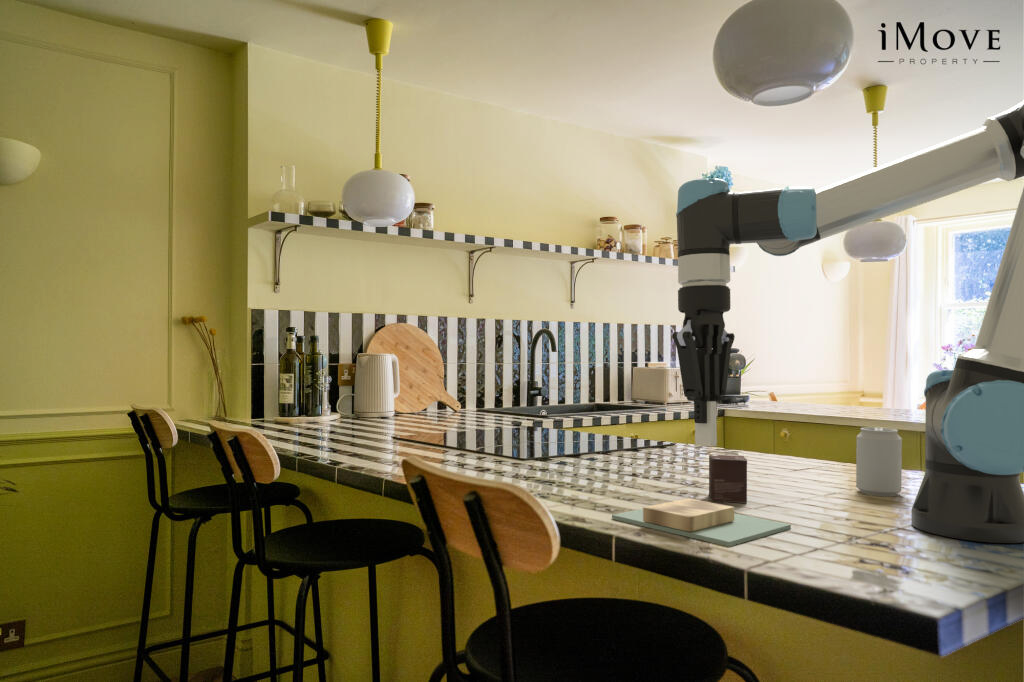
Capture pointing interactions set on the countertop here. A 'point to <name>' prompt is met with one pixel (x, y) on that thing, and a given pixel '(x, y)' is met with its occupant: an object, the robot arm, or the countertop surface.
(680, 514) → the tile
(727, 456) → the box
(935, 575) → the countertop surface
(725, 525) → the mat
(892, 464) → the can
